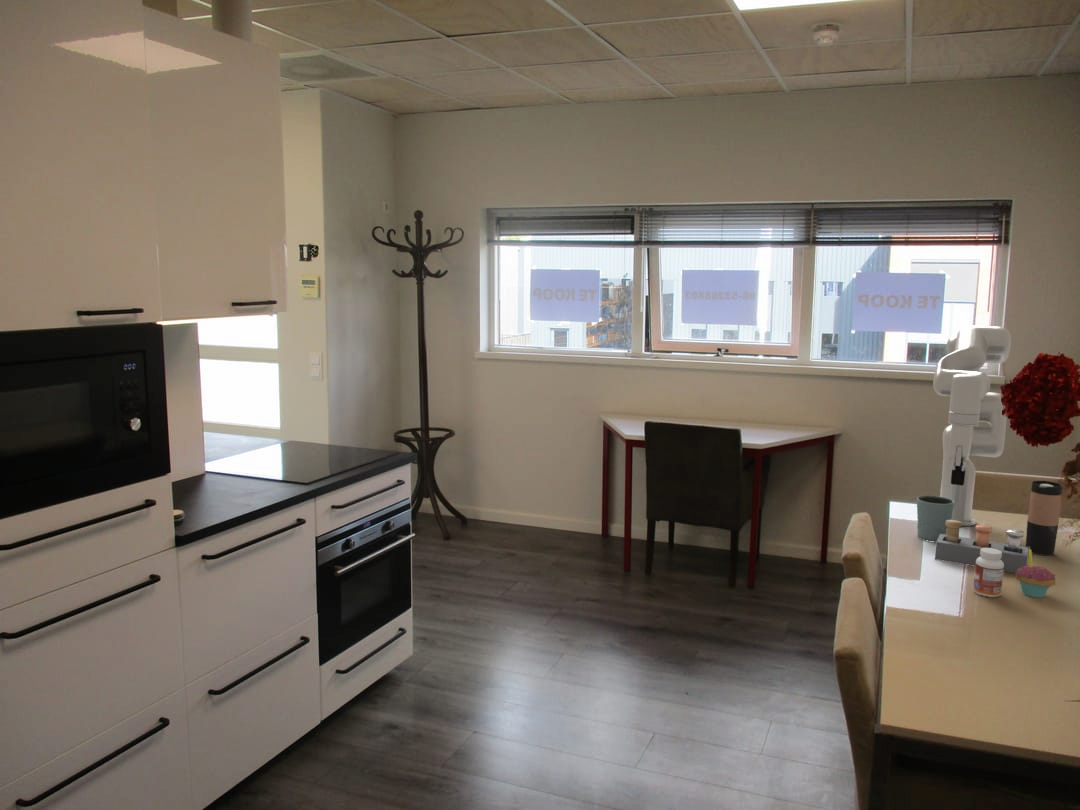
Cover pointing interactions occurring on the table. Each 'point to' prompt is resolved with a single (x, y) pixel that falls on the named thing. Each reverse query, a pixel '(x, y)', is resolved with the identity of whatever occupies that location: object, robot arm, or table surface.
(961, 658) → the table surface
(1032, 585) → the cupcake
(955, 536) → the oak plug
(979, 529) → the terracotta plug
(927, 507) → the green tapered cup
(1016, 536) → the aluminium plug
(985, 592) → the pill bottle
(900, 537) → the table surface
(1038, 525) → the travel mug
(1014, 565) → the socket block
